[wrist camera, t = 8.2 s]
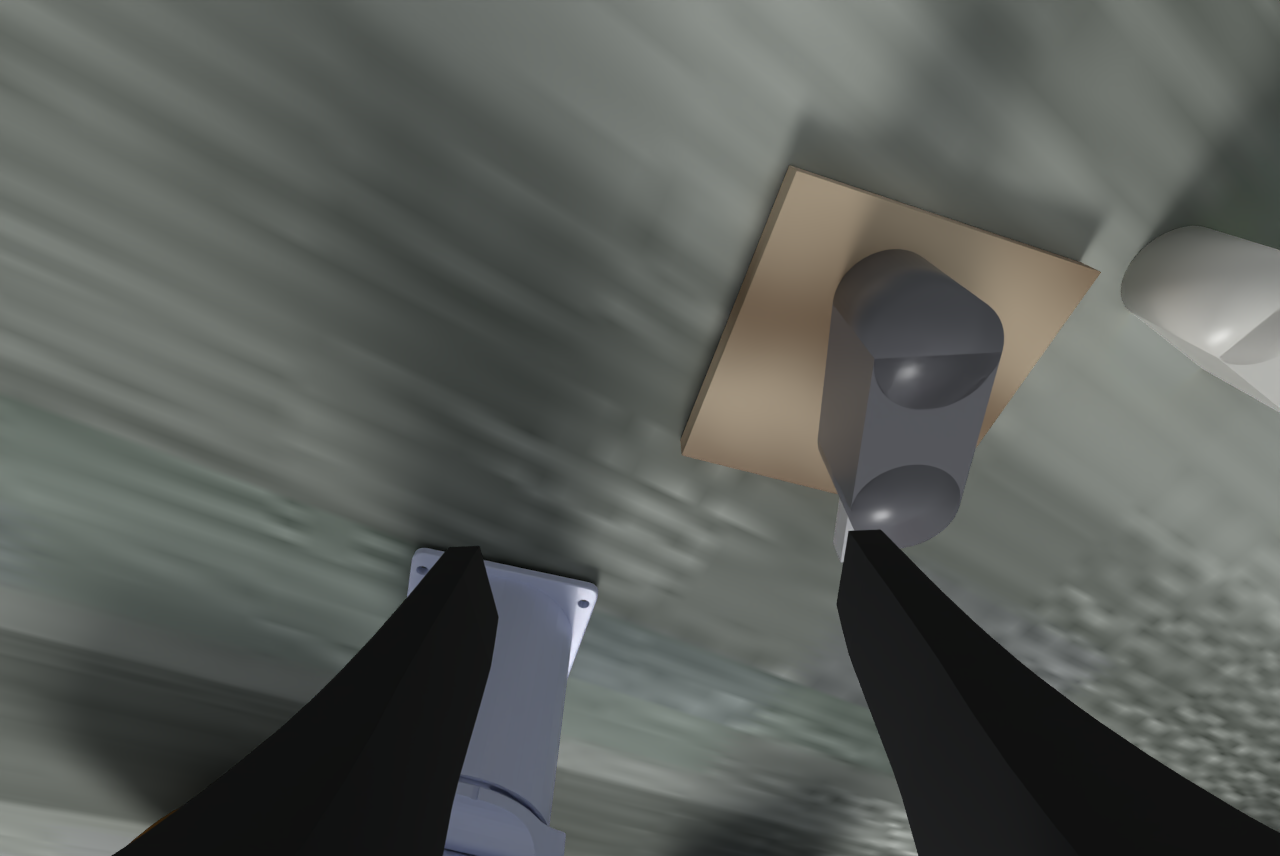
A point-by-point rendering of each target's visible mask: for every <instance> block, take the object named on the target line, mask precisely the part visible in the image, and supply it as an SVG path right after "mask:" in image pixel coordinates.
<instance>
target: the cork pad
mask: <svg viewBox="0 0 1280 856" xmlns="http://www.w3.org/2000/svg"><path fill="white" fill-rule="evenodd" d="M890 249H902V250H908V251H911V252H914V253H916V254H918V255H920V256H921V257H923V258H924V259H926V260H927V261H928V262H930V263H931V264H933V265H934V266H935V267H937V268H938V269H939V270H941V271H942V272H944V273H945V274H946V275H948V276H949V277H950V278H952V279H953V280H955V281H956V282H957V283H959V284H960V285H961V286H963V287H964V288H966V289H967V290H968V291H970V292H971V293H973V294H974V295H975V296H977V297H978V298H979V299H981V300H982V301H984V302H985V303H986V304H988V305H989V306H990V307H991V308H992V309H993V310H994V311H995V312H996V314H997V315H998V316H999V318H1000V320H1001V323H1002V326H1003V330H1004V346H1003V351H1002V355H1001V358H1000V362H999V366H998V369H997V373H996V376H995V380H994V384H993V387H992V391H991V394H990V398H989V402H988V405H987V409H986V412H985V416H984V420H983V423H982V427H981V430H980V434H979V438H978V441H977V445H976V447H977V446H978V444H979V443H980V442H981V440H982V439H983V437H984V436H985V435H986V433H987V432H988V430H989V429H990V428H991V426H992V425H993V423H994V422H995V421H996V419H997V418H998V416H999V415H1000V414H1001V412H1002V411H1003V409H1004V408H1005V406H1006V405H1007V404H1008V402H1009V401H1010V399H1011V398H1012V397H1013V395H1014V394H1015V392H1016V391H1017V390H1018V388H1019V387H1020V385H1021V384H1022V383H1023V381H1024V380H1025V378H1026V377H1027V376H1028V374H1029V373H1030V371H1031V370H1032V368H1033V367H1034V366H1035V364H1036V363H1037V361H1038V360H1039V359H1040V357H1041V356H1042V354H1043V353H1044V352H1045V350H1046V349H1047V347H1048V346H1049V345H1050V343H1051V342H1052V340H1053V339H1054V338H1055V336H1056V335H1057V333H1058V332H1059V330H1060V329H1061V328H1062V326H1063V325H1064V323H1065V322H1066V321H1067V319H1068V318H1069V316H1070V315H1071V314H1072V312H1073V311H1074V309H1075V308H1076V307H1077V305H1078V304H1079V302H1080V301H1081V300H1082V298H1083V297H1084V295H1085V294H1086V293H1087V291H1088V290H1089V288H1090V287H1091V285H1092V284H1093V283H1094V281H1095V280H1096V278H1097V277H1098V276H1099V274H1100V273H1101V272H1100V271H1098V270H1096V269H1094V268H1092V267H1089V266H1087V265H1085V264H1083V263H1081V262H1078V261H1075V260H1072V259H1069V258H1066V257H1063V256H1060V255H1057V254H1054V253H1051V252H1048V251H1045V250H1042V249H1039V248H1036V247H1033V246H1030V245H1027V244H1024V243H1021V242H1018V241H1015V240H1012V239H1009V238H1006V237H1003V236H1000V235H997V234H994V233H991V232H988V231H985V230H982V229H979V228H976V227H973V226H970V225H967V224H964V223H961V222H958V221H955V220H952V219H949V218H946V217H943V216H940V215H937V214H934V213H931V212H928V211H925V210H922V209H919V208H916V207H913V206H910V205H907V204H904V203H901V202H898V201H895V200H892V199H889V198H886V197H883V196H880V195H877V194H874V193H871V192H868V191H865V190H862V189H859V188H856V187H853V186H850V185H847V184H844V183H841V182H838V181H835V180H832V179H829V178H826V177H823V176H820V175H817V174H814V173H811V172H808V171H805V170H802V169H799V168H796V167H794V166H791V165H789V167H788V170H787V172H786V175H785V177H784V180H783V182H782V185H781V187H780V190H779V193H778V195H777V198H776V200H775V203H774V205H773V208H772V210H771V213H770V215H769V218H768V220H767V223H766V225H765V228H764V230H763V233H762V235H761V238H760V240H759V243H758V246H757V248H756V251H755V253H754V256H753V258H752V261H751V263H750V266H749V268H748V271H747V273H746V276H745V278H744V281H743V283H742V286H741V288H740V291H739V294H738V296H737V299H736V301H735V304H734V306H733V309H732V311H731V314H730V316H729V319H728V321H727V324H726V326H725V329H724V331H723V334H722V336H721V339H720V341H719V344H718V347H717V349H716V352H715V354H714V357H713V359H712V362H711V364H710V367H709V369H708V372H707V374H706V377H705V379H704V382H703V384H702V387H701V389H700V392H699V394H698V397H697V400H696V402H695V405H694V407H693V410H692V412H691V415H690V417H689V420H688V422H687V425H686V427H685V430H684V432H683V435H682V437H681V440H680V441H681V452H682V455H683V456H687V457H691V458H695V459H699V460H703V461H707V462H711V463H715V464H719V465H723V466H727V467H731V468H735V469H739V470H743V471H747V472H751V473H755V474H759V475H763V476H767V477H771V478H775V479H779V480H783V481H787V482H791V483H795V484H799V485H803V486H807V487H811V488H815V489H819V490H823V491H827V492H831V493H835V494H838V493H837V491H836V489H835V486H834V484H833V482H832V480H831V477H830V475H829V473H828V471H827V468H826V466H825V464H824V462H823V459H822V457H821V455H820V453H819V449H818V431H819V422H820V413H821V404H822V395H823V386H824V377H825V368H826V359H827V350H828V341H829V332H830V323H831V314H832V305H833V299H834V295H835V292H836V289H837V287H838V285H839V283H840V282H841V280H842V278H843V277H844V276H845V274H846V273H847V272H848V271H849V270H850V269H851V268H852V267H853V266H854V265H855V264H857V263H858V262H859V261H861V260H862V259H864V258H865V257H867V256H869V255H871V254H874V253H877V252H880V251H884V250H890ZM975 449H976V448H975Z"/></svg>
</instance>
